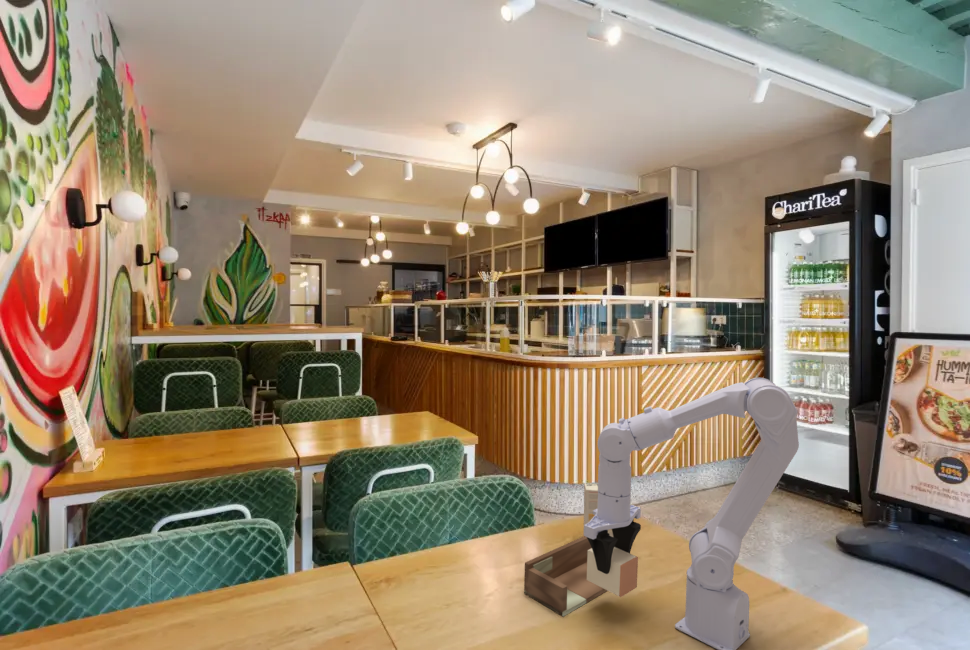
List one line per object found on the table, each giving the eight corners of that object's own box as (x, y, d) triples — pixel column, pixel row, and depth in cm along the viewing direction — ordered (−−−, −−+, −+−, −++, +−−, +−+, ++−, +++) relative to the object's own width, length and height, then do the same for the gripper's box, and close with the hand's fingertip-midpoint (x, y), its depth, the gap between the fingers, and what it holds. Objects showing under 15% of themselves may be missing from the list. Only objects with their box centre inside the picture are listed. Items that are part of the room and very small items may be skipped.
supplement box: (617, 538, 124) (619, 483, 124) (620, 547, 119) (622, 490, 119) (582, 535, 125) (584, 481, 125) (584, 545, 120) (585, 488, 120)
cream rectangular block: (636, 587, 93) (638, 557, 93) (620, 597, 90) (621, 565, 89) (603, 571, 98) (604, 542, 98) (586, 579, 95) (587, 550, 95)
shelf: (627, 579, 105) (628, 549, 105) (563, 616, 92) (563, 583, 92) (588, 561, 113) (589, 533, 112) (524, 593, 99) (524, 562, 99)
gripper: (618, 477, 101) (616, 546, 102) (570, 494, 92) (569, 570, 92) (651, 487, 96) (649, 560, 96) (604, 506, 86) (602, 587, 87)
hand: (612, 566), depth 94 cm, fingers closed on cream rectangular block, 5 cm apart
